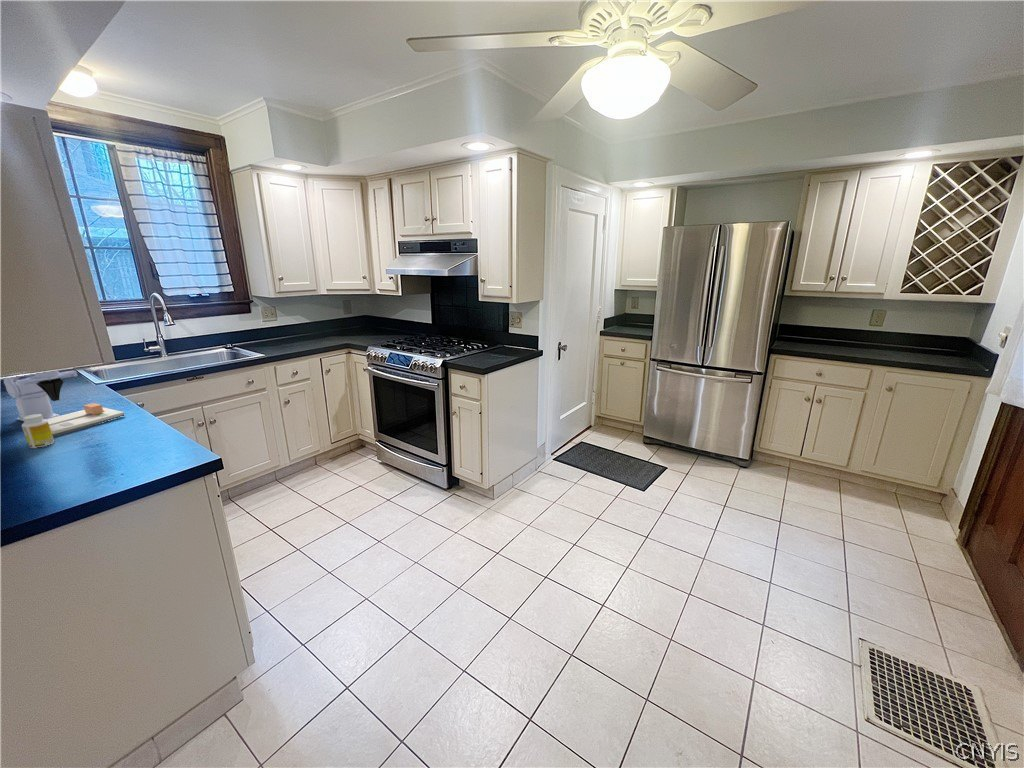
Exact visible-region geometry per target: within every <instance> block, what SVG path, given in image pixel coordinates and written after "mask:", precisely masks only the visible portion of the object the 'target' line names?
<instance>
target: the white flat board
mask: <svg viewBox="0 0 1024 768" xmlns="http://www.w3.org/2000/svg"><path fill="white" fill-rule="evenodd" d="M102 408H103V413H99V414H95V415H92V414H88V413H85V409H82V410H78V411H74V412H70V413H66V414H62V415H60V416H57V417H53V418H49V419H45V420H47V421H48V423H49V426H50V429H51V432H52V435H53V436H56V437H58V435H59V436H62V434H63V435H66V434H70V433H73V432H77V431H80V430H79V429H81V430H84V429H87V428H86V427H88V428H90V427H89V426H91V427H93V426H92V425H95V426H97V425H96V424H98V425H100V424H99V423H102V422H105V421H108V420H111V419H114V418H118V417H120V416H124V415H125V412H124V411H121V410H117V409H116V410H115V409H114V408H113V409H112V408H108V407H103V406H102ZM125 416H126V415H125ZM102 424H103V423H102ZM83 428H84V429H83ZM76 430H77V431H76Z"/></svg>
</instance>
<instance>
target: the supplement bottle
mask: <svg viewBox="0 0 1024 768" xmlns="http://www.w3.org/2000/svg"><path fill="white" fill-rule="evenodd" d="M23 420H24V421H23V423H22V424H21V429H22V432H23V434H24V437H25V439H26V442H27V445H28V447H29V448H30V449H38V448H37V447H42V446H46V447H48V446H47V445H49V446H51V445H53V444H54V443H55V439H54V437H53V435H52V432H51V429H50V426H49V423H48V421H47V420H45V419H43V417H42V415H41V414H33V415H28V416H25V417H23ZM50 444H51V445H50ZM42 448H43V447H42Z"/></svg>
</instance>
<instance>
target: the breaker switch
mask: <svg viewBox="0 0 1024 768" xmlns="http://www.w3.org/2000/svg"><path fill="white" fill-rule="evenodd" d="M102 407H103V405H102V404H99V403H95V402H91V403H88V404H84V405H83V410H85V413H88V414H92V415H95V414H99V413H103V408H102Z"/></svg>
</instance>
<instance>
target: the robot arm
mask: <svg viewBox="0 0 1024 768" xmlns="http://www.w3.org/2000/svg"><path fill="white" fill-rule="evenodd" d="M72 377H73V378H74V377H78V373H77V370H68V371H59V370H58V371H54V372H43V373H36V374H30V375H24V376H16V377H11V378H6V377H5V378H4V379H3V384H4V386H5V389H6V392H7V393H8V395H9V396H10V397H11V398H14V399H16V400H15V405H16V407H17V411H18V414H19V416H20V417H17V418H16V419H17V420H19V421H21V422H22V421H23V422H24V420H23V417H25V416H28V415H33V414H41V415H42V417H43V419H49V418H53V417H57V416H61V415H60V414H58V413H55V412H54V411H53V408H52V404H51V402H57V401H60V400H61V399H60V397H61V395H60V394H61V389H62V386H63V384H64V380H63V379H68V378H72ZM50 400H51V402H50Z"/></svg>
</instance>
